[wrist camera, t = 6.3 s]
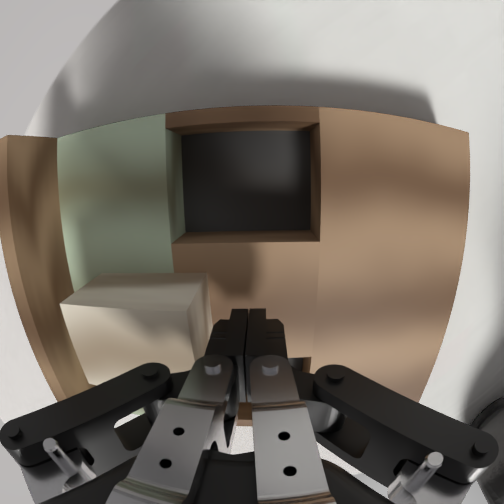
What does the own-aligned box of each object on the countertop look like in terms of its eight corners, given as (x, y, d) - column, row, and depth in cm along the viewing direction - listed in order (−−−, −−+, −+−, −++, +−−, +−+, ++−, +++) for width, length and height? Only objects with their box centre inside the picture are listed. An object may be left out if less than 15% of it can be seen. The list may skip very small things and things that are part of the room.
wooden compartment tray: (72, 144, 14) (-5, 141, 8) (440, 136, 14) (516, 128, 7) (116, 384, 20) (82, 441, 13) (403, 383, 19) (435, 442, 12)
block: (101, 273, 14) (59, 303, 10) (206, 272, 13) (186, 311, 9) (119, 343, 15) (89, 383, 11) (215, 349, 15) (202, 400, 11)
